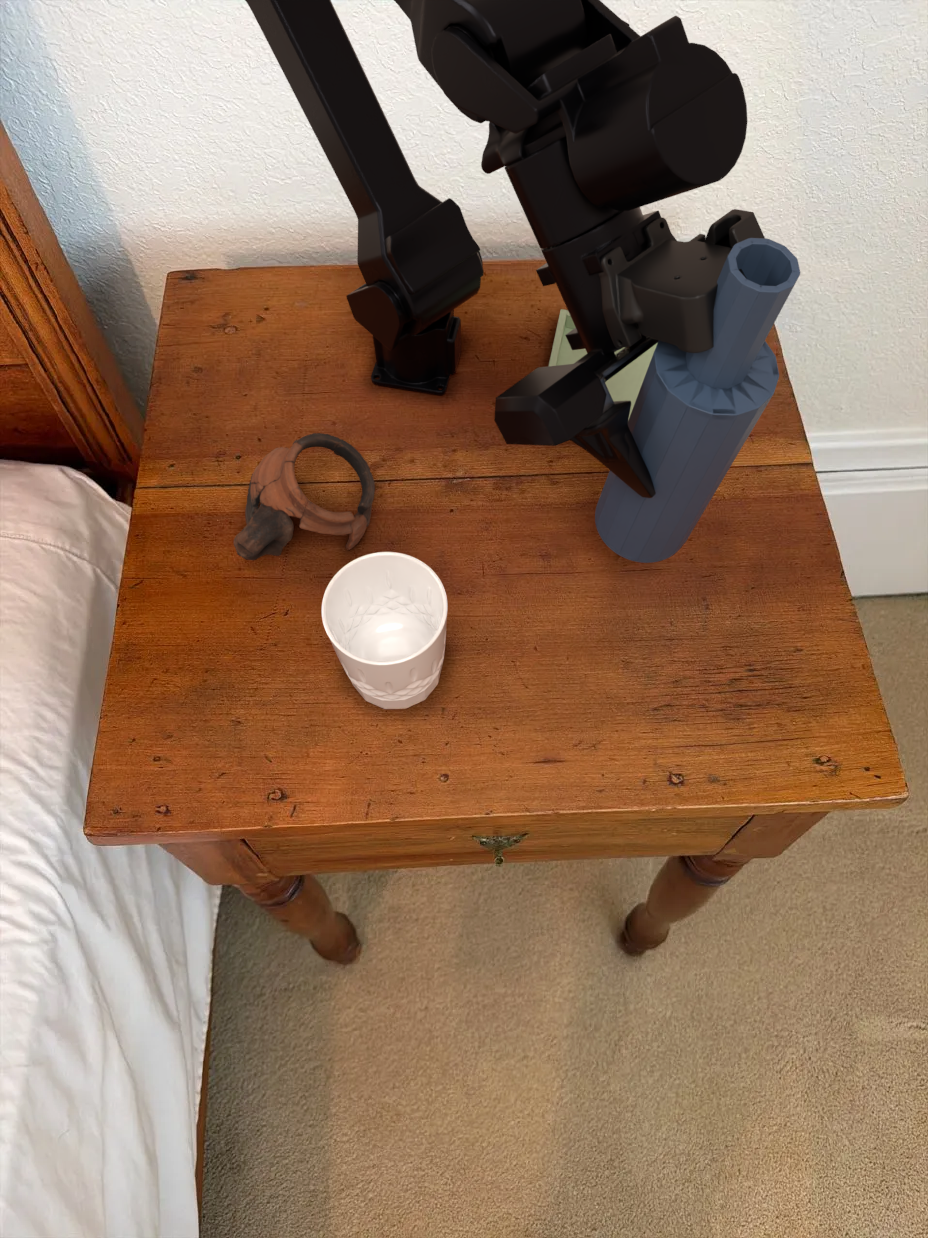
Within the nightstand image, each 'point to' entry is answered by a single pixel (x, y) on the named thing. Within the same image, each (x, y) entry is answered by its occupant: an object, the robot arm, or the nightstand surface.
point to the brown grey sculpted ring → (298, 501)
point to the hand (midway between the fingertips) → (688, 464)
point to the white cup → (388, 627)
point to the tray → (632, 375)
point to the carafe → (700, 408)
